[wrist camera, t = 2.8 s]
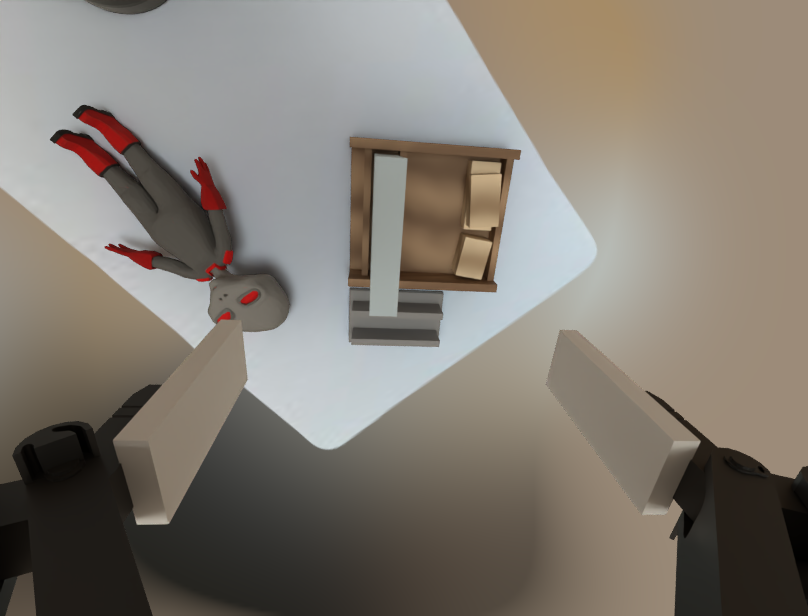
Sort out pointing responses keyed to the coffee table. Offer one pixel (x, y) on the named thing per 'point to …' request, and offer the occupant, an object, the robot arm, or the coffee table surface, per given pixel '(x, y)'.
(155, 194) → the toy
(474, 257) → the offcut
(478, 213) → the offcut
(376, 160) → the grey flat slab
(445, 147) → the rack
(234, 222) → the coffee table surface
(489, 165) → the offcut
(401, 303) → the stand
